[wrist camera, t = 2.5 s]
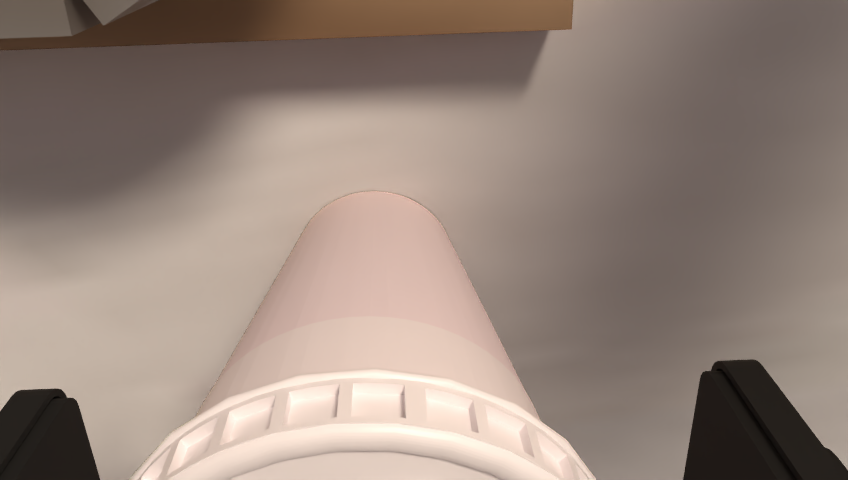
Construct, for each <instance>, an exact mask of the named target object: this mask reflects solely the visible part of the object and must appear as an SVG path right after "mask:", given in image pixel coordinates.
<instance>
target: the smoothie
mask: <svg viewBox="0 0 848 480" xmlns="http://www.w3.org/2000/svg"><path fill="white" fill-rule="evenodd" d="M129 480H597V479H596V478H595V477H594V475H593V474H592V473H591V471H590V470H589V469H588V467H587V466H586V465H585V463H584V462H583V461H582V459H581V458H580V457H579V456H578V454H577V453H576V452H575V450H574V449H573V448H572V446H571V445H570V444H569V442H568V441H567V440H566V439H565V438H564V437H562V436H561V435H559V434H558V433H557V432H555V431H554V430H552V429H551V428H550V427H548V426H547V425H545V424H544V423H543V422H541V420H540V418H539V416H538V414H537V412H536V410H535V407H534V405H533V403H532V401H531V399H530V397H529V396H528V394H527V393H526V391H525V389H524V387H523V385H522V383H521V381H520V379H519V377H518V375H517V373H516V371H515V369H514V367H513V365H512V363H511V361H510V359H509V357H508V355H507V353H506V351H505V349H504V347H503V345H502V343H501V341H500V339H499V337H498V335H497V333H496V331H495V329H494V327H493V325H492V323H491V321H490V319H489V317H488V315H487V313H486V311H485V309H484V307H483V305H482V303H481V301H480V299H479V297H478V295H477V293H476V291H475V289H474V287H473V285H472V283H471V281H470V279H469V277H468V275H467V274H466V272H465V270H464V268H463V266H462V264H461V262H460V260H459V258H458V256H457V254H456V252H455V250H454V248H453V246H452V244H451V242H450V240H449V238H448V236H447V234H446V232H445V230H444V228H443V227H442V225H441V224H440V222H439V221H438V220H437V219H436V217H435V216H434V215H433V214H432V213H431V212H429V211H428V210H427V209H426V208H424V207H423V206H422V205H420V204H419V203H417V202H415V201H413V200H411V199H409V198H407V197H404V196H401V195H398V194H394V193H389V192H380V191H367V192H359V193H355V194H350V195H347V196H344V197H342V198H339V199H337V200H335V201H333V202H332V203H330V204H328V205H327V206H325V207H324V208H323V209H321V210H320V211H319V212H318V213H317V214H316V215H315V216H314V217H313V218H312V219H311V221H310V222H309V223H308V224H307V226H306V228H305V229H304V231H303V233H302V234H301V236H300V238H299V240H298V241H297V243H296V245H295V246H294V248H293V250H292V252H291V253H290V255H289V257H288V259H287V260H286V262H285V264H284V265H283V267H282V269H281V271H280V272H279V274H278V276H277V278H276V279H275V281H274V283H273V285H272V286H271V288H270V290H269V291H268V293H267V295H266V297H265V298H264V300H263V302H262V304H261V305H260V307H259V309H258V310H257V312H256V314H255V316H254V317H253V319H252V321H251V323H250V324H249V326H248V328H247V329H246V331H245V333H244V335H243V336H242V338H241V340H240V342H239V343H238V345H237V347H236V349H235V350H234V352H233V354H232V355H231V357H230V359H229V361H228V362H227V364H226V366H225V368H224V369H223V371H222V373H221V374H220V376H219V378H218V380H217V381H216V383H215V385H214V386H213V388H212V389H211V391H210V392H209V394H208V395H207V397H206V399H205V400H204V402H203V404H202V406H201V407H200V409H199V411H198V413H197V415H196V417H195V418H193V419H191V420H190V421H188V422H187V423H185V424H183V425H182V426H180V427H178V428H177V429H175V430H174V431H172V432H171V433H170V434H169V435H168V436H167V437H166V438H165V439H164V440H163V442H162V443H161V444H160V445H159V446H158V447H157V448H156V449H155V450H154V452H153V453H152V454H151V455H150V456H149V457H148V458H147V459H146V460H145V462H144V463H143V464H142V465H141V466H140V467H139V468H138V469H137V470H136V472H135V473H134V474H133V475H132V476H131V477H130V479H129Z"/></svg>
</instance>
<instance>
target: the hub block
mask: <svg viewBox="0 0 848 480" xmlns="http://www.w3.org/2000/svg"><path fill="white" fill-rule="evenodd" d="M572 14H573V0H0V50H24V49H51V48H79V47H106V46H133V45H160V44H187V43H214V42H241V41H268V40H295V39H322V38H350V37H377V36H404V35H431V34H458V33H485V32H512V31H539V30H566V29H572Z"/></svg>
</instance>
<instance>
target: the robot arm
mask: <svg viewBox="0 0 848 480" xmlns="http://www.w3.org/2000/svg"><path fill="white" fill-rule="evenodd" d="M0 480H100V478H99V474H98V471H97V467H96V464H95V460H94V457H93V453H92V450H91V447H90V443H89V440H88V436H87V433H86V429H85V426H84V422H83V419H82V416H81V412H80V409H79V406H78V403H77V401H76V400H75V399H74V398H67V397H66V395H65V393H64V392H63V391H62V390H61V389H35V390H20V391H17V392H16V393H15V394H14V395H13V396H12V397H11V398H10V399H9V401H8V402H7V403H6V405H5V406H4V407H3V409H2V410H1V411H0ZM683 480H848V470H847V469H846V468H845V466H844V465H843V464H842V462H841V461H840V460H839V458H838V457H837V456H836V455H835V454H834V453H833V452H832V451H831V450H829V449H827V448H825V447H824V446H823V445H822V444H821V442H820V441H819V440H818V438H817V437H816V436H815V434H814V433H813V432H812V431H811V429H810V428H809V427H808V425H807V424H806V423H805V421H804V420H803V419H802V417H801V416H800V415H799V413H798V412H797V411H796V409H795V408H794V407H793V405H792V404H791V403H790V402H789V400H788V399H787V398H786V396H785V395H784V394H783V392H782V391H781V390H780V388H779V387H778V386H777V384H776V383H775V382H774V380H773V379H772V378H771V376H770V375H769V374H768V373H767V371H766V370H765V369H764V367H763V366H762V365H761V364H760V363H759V362H758V361H756V360H731V361H717V362H715V363H714V365H713V366H712V370H711V371H705V372H703V373H702V375H701V378H700V383H699V389H698V394H697V400H696V406H695V412H694V418H693V424H692V430H691V436H690V442H689V448H688V454H687V460H686V466H685V472H684V478H683Z"/></svg>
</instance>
